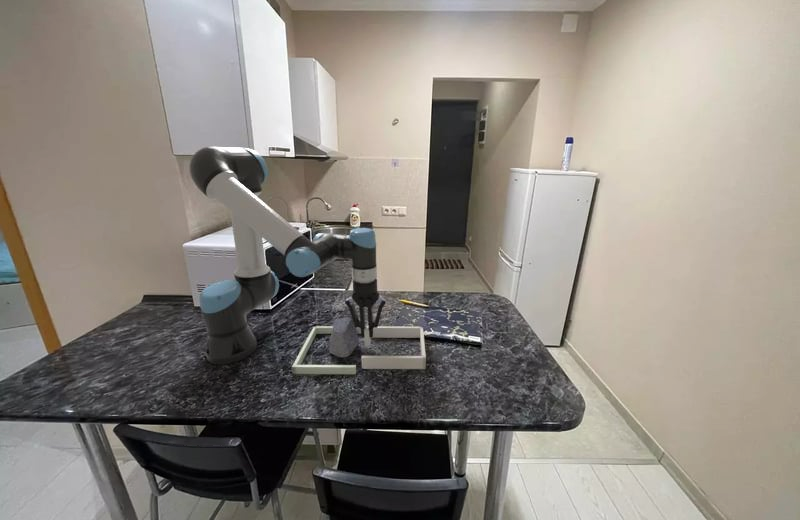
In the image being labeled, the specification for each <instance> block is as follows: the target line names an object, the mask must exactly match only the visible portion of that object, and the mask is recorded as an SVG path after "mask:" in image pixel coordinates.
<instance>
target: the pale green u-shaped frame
mask: <svg viewBox="0 0 800 520" xmlns="http://www.w3.org/2000/svg"><path fill="white" fill-rule="evenodd" d="M332 329H333V325H332V326H331V325H329V326H326V325H324V326H322V325H321V326H320V325H317V326H316V325H315V326H313V327H312V330H311V331H310V333H309V334H308V336H307V338H306V340H305V342H304V344H303V345H302V347H301V349H300V351H299V353H298V355H297V357H296V358H295V361H294V362H293V364H292V366H291V371H292V375H356V374H357V365H356V364H302V363H303V361H304V359H305V357H306V355H307V353H308V351H309V349H310V348H311V346H312V344H313V341H314V339H315V337H316V335H325V334H329V335H331V333H332ZM356 330H357V334H359V335H361V329H360V328H359V327H358V328H356Z"/></svg>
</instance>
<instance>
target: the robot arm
mask: <svg viewBox="0 0 800 520" xmlns="http://www.w3.org/2000/svg"><path fill="white" fill-rule="evenodd" d="M268 174H269V173H268V167H267V164H266V161H265V160H264V158H263V156H262V155H260V154H259V153H258V151H256V150H254V149H252V148H246V147H241V146H237V147H236V146H235V147H234V146H232V147H230V146H229V147H226V146H206V147H203V148H200V149H199V150H197V151H196V152H195V153H193V155H192V157H191V158H190V162H189V175H190V178H191V179H192V181H193V182H194V185H195V186H196V187H197V189H198V190H199V191H200V192H202V194H204V195H205V196H206V197H207V198H209V200H211V201H217V202H219V203H220V204H221V205H222V206H224V207H225V208H226V209H228V210H229V212H230V218H231V219H230V221H231V226H232V233H233V241H234V246H235V247H234V248H235V254H236V260H237V268H236V269H235V270H234V272H233V275H234V279H225V280H221V281H220V282H219V281H217V282H214V283H212V284H209V285H208V286H207V287H205V288H203V290H202V291H201V292H200V294H199V307H200V310H201V312H202V313H201V314H202V317H203V320H204V321H203V322H204V325H205V329H206V334H207V340H206V345H205V350H204V351H205V353H204V354H205V356H206V360H207V362H209V363H210V364H213V365H221V366H222V365H229V364H233V363H236V362H240V361H241V360H244V359H245V358H247V357H249V356H250V355H252V354H253V353H254V352H255V351H256V350H257V348H258V342H257V338H256V335H254V333H253V331H252V329H251V328H250V327H249V325H248V321H247V315H248V314H249V313H250V312H252V311H255V310H256V309H257V308H259V307H261V306H262V305H264V304H267V303H269V301H271V300H272V299H273V298H274V297H275V296H277V293H278V292H279V288H280V283H279V279H278V277H277V276H276V273H275V272H274V271H272V270H271V267H270V266H268V265H267V264H266V261H265V250H264V243H263V240H265V241H266V242H267V243H268V244H270V245H271V247H273V248H274V249H276V250H277V251H278V252H280V253H281V254H282V256H284V257H285V265H286V267H287V269H288V270H289V273H291V274H292V275H294V276H295V277H298V278H304V277H308V276H310V275H312V274H314V273H316V272H318V270H320V269H321V268H323V267H325V266H326V265H328V264H330V263H332V262H333V261H335V260H347V261H348V260H349V261H350V263H351V278H352V279H353V280H352V294H351V296H350V297H347V298H346V300H345V302H344V304H345V305H346V306H347V308H348V309H349V313H350V317H352V319H353V322H354V325H355V327H356V328H358V327H359V328H360V329H361V334H360V336H361V338H364V347H365V348H370V347H371V346H370V345H371V338H370V337H373V328H377V327H378V326H379V322H380V319H381V316H382V315H381V314H382V311H383V308H384V306H385V305H386V303H387V302H386V301H387V298H385V297H381V296H380V293H379V291H378V279H377V278H378V270H377V269H378V268H377V241H376V240H377V239H376V233H375V231H374V230H373V229H371V228H368V227H357V228H352V229H351V230H350V231H349V234H339V233H331V232H319V233H317V234H315V236H314V237H313V239H312V241H311V240H310V239H309V238H308V237H307V236H306V235H304V234H303V233H302V232H301V231H299V230H298V229H296V227H295V226H293V225H292V224H290V223H289V221H287V220H286V219H284V217H282V216H281V215H280V214H279V213H277V212H276V211H275V210H274V209H273V208H271V207H270V206H269V205H268V204H267V203H266V202H264V201H263V200H262V199H261V198H259V195H261V194H262V193H263V188H262V185H263V184H264V183H265V182H266V180H267V178H268ZM354 303H356V305H357V306H358V309H359V316H358V314H357V313H358V312H357V310H356V307H355V304H354ZM376 303H377V304H378V308H377V311H376V315H375V319H374V315H373V314H374V313H373V312H374V311H373V306H374V305H375V304H376ZM365 308H367V322H368V325H366V313H365V311H366V310H365Z"/></svg>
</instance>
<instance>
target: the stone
mask: <svg viewBox="0 0 800 520" xmlns="http://www.w3.org/2000/svg"><path fill="white" fill-rule="evenodd" d="M332 326H333V329H332V333H331V334H330V337H329V349H328V350H329V353H330V354H331V355H333V356H335V357H337V358H348V357H350V355H352V353H353V352H354V350H356V348H357V346H358V345H359V343H360V340H359V339H360V337H359V335H358V334H357V330H356V327H355V325H354V322H353V319H352V316H351V315H350V316H349V315H348V316H347V315H345V316H339V317H336V318H335V319H334V320H333V324H332Z"/></svg>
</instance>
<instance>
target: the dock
mask: <svg viewBox="0 0 800 520" xmlns="http://www.w3.org/2000/svg"><path fill="white" fill-rule="evenodd" d="M373 338H375V339H376V338H378V339H380V338H382V339H383V338H387V339H389V338H390V339H391V338H393V339H398V338H400V339H402V338H405V339H406V338H407V339H410V338H411V339H412V338H413V339H414V338H415V339H417V338H418V339H419V340H420V341H419V342H420V354H421V355H361V360H360V361H361V369H364V370H427V369H426V368H427V367H426V366H427V365H426V364H427V355H426V347H425V346H426V345H425V336H424V327H423V326H403V325H402V326H396V325H395V326H394V325H393V326H384V325H383V326H379V325H378V327H377V328H373V337H370V339H373Z"/></svg>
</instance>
